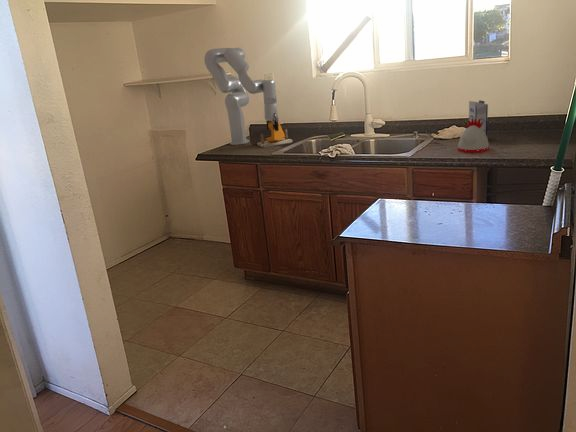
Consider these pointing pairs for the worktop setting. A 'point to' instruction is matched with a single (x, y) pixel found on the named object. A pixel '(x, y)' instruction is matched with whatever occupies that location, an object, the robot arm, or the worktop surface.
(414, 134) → the worktop surface
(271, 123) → the bracket
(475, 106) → the milk carton
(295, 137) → the worktop surface
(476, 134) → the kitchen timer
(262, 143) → the tool rest
